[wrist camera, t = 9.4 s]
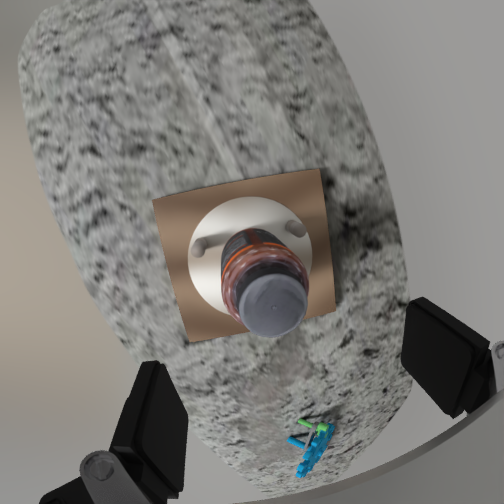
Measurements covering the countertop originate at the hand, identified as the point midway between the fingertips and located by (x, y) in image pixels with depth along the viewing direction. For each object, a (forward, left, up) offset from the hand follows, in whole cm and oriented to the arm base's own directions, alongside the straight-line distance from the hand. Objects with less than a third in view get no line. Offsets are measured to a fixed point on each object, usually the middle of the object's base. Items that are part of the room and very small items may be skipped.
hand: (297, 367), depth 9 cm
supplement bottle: (0, 0, -18) cm, 18 cm away
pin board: (0, 0, -19) cm, 19 cm away
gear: (+30, +4, -19) cm, 36 cm away
